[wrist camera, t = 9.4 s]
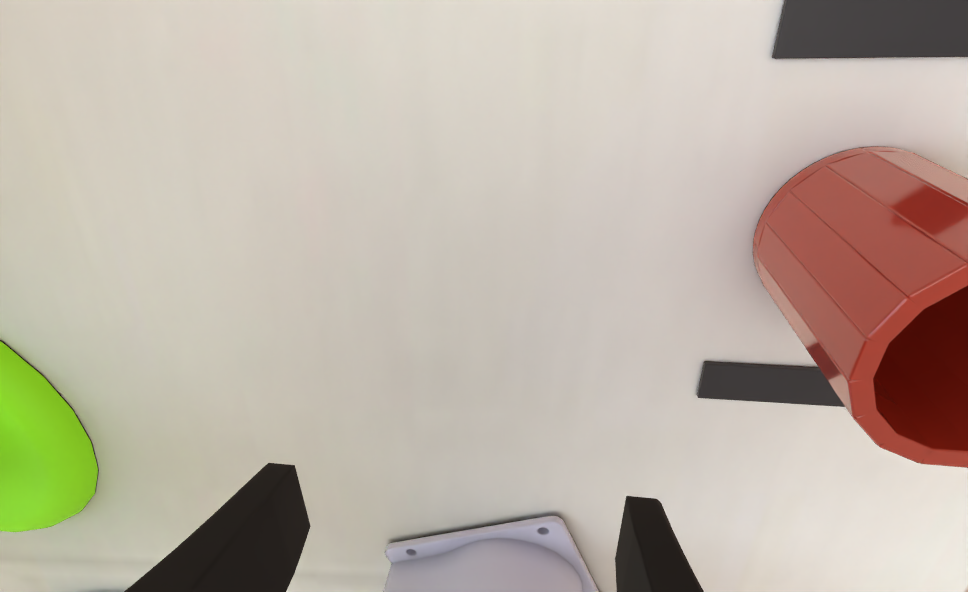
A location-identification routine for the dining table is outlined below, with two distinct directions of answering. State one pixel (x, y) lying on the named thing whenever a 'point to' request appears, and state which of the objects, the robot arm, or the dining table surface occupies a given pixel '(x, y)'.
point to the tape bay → (839, 34)
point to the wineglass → (39, 451)
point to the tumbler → (879, 292)
